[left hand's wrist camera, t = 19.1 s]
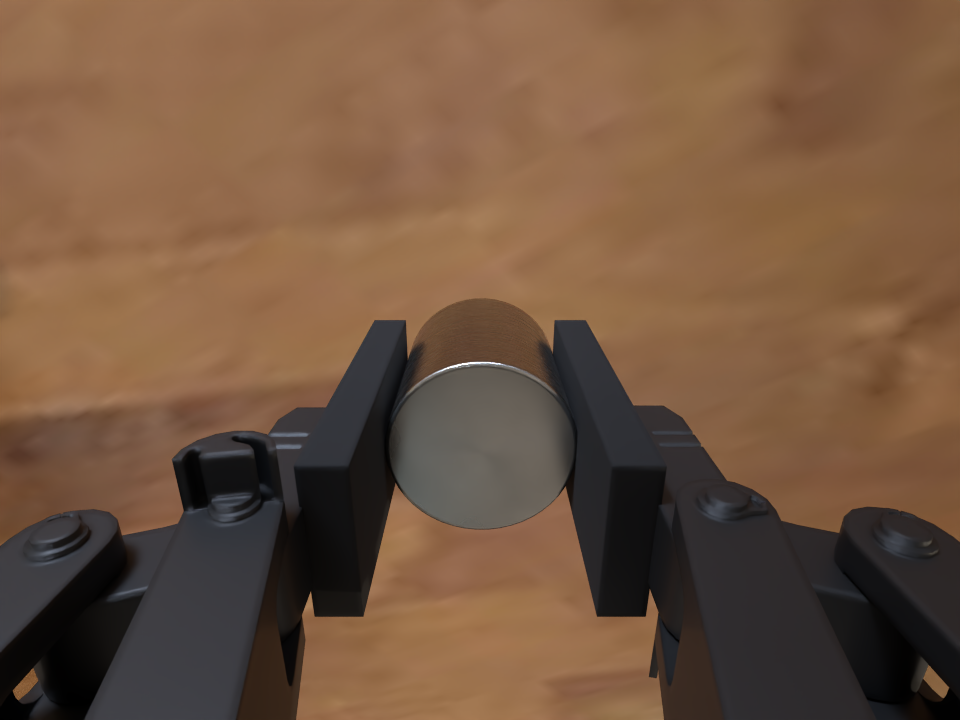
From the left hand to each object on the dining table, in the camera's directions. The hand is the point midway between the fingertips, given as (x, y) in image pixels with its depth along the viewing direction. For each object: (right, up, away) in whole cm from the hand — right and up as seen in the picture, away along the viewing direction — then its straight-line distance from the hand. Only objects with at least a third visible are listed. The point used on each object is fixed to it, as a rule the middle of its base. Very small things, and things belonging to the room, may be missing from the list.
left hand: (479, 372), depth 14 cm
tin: (0, 0, 0) cm, 0 cm away
